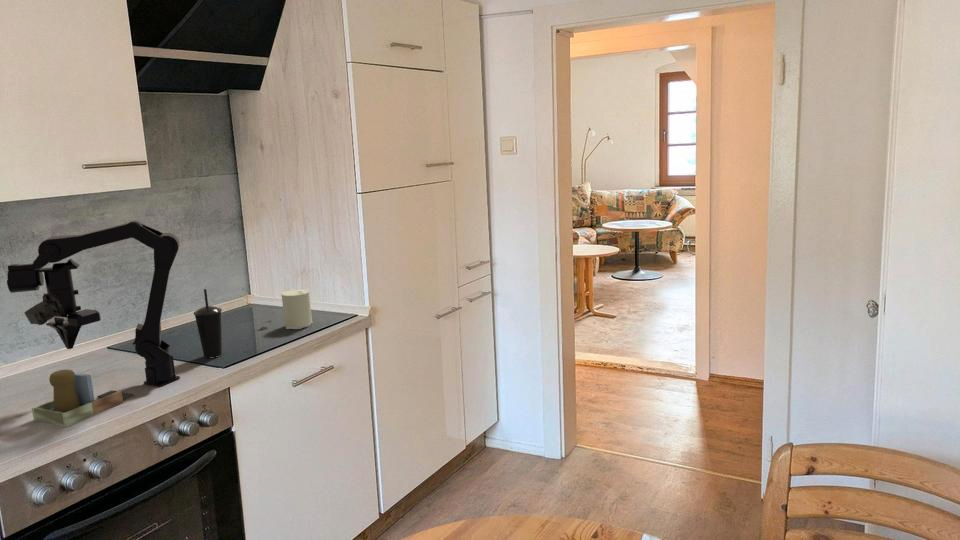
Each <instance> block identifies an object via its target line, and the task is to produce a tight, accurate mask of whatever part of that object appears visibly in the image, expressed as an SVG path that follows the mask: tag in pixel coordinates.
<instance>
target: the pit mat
mask: <svg viewBox="0 0 960 540" xmlns="http://www.w3.org/2000/svg"><path fill="white" fill-rule="evenodd" d="M115 392H117V390H109V391H107V392H104V393H102V394H98V395H97V398H98V397H99V398H98V399H100V398H103V397H105V396H108V395H110V394H113V393H115ZM133 395H134V396H135V394H134V393H129V392H124V391H122V398H123V401H125V400H126V398H127V399H129V398H131V396H132V397H134V396H133Z"/></svg>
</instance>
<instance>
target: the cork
mask: <svg viewBox="0 0 960 540" xmlns="http://www.w3.org/2000/svg"><path fill="white" fill-rule="evenodd" d="M75 373H76V372H75V371H73V370H72V369H69V368H68V369H67V368H66V369H59V370H56V371H54V372H52V373H51V374H50V376H49V384H50V385H51V386H52V388H53V400H54V411H58V412H63V413H65V412H68V411H70V410H73V409H75V408H78V407H80V406H81V403H80V400H79V397H78V394H77V391H76V388H75V385H74V381H75Z"/></svg>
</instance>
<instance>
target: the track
mask: <svg viewBox="0 0 960 540" xmlns="http://www.w3.org/2000/svg"><path fill="white" fill-rule="evenodd" d="M116 391H117V390H116ZM122 392H123V391H121V390H118V391H117V392H115V393H113V394H110V395H108V396H105V397H103V398H98V399H95V401H93V402H90V403H88V404H85V405H83V406H80V407H78V408H75V409H73V410H70V411H68V412H65V413H63V412H58V411H53V410H50V409H52V408H54V399H52V400H49V401H46V402H44V403H40V404H38V405H36V406H33V407H31V412H32V418H33V421H36V422H41V423H46V424H51V425H57V426H61V427H69V426H72V425H75V424H76V422H77V423H79V422H82V421H83V419H84V420H86V419H88V418H87V417H89V418H91V417H93V416H96V415H98V414H100V413H103V412H105V411H107V410H109V408H110V409H112V408H114V406H115V407H117V406H119V405H121V403H122V404H123V403H124V400H123V398H122ZM104 410H105V411H104ZM102 411H103V412H102ZM97 413H98V414H97ZM95 414H96V415H95ZM90 416H91V417H90ZM85 418H86V419H85Z"/></svg>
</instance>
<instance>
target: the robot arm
mask: <svg viewBox="0 0 960 540" xmlns="http://www.w3.org/2000/svg"><path fill="white" fill-rule="evenodd" d="M129 239H134V240H136V241H138V242H140V243H141V244H143V245H145V246H146V247H148V248H151V250H152V249H153V262H154V263H153V265H154V267H153V268H154V270H153V274H152V275H153V276H152V282H151V287H150V292H149V297H148V302H147V308H146V314H145V320H144V322H143V324H141V323H137V325H136V327H135V331H134V333H135V337H134V339H133V342H132V345H133V346H134V350H135V352H136V353H137V355H138V356H140V357H141V358H143V359H144V360H145V361H144V363H145V368H144V373H145V379H146V380H145V381H143V384H144V385H151V386H158V387H162V386H165V385H167V384H169V383H172V382H175V381H177V380H179V379H181V376H180V375H176V371H175V362H174V355H170V354H171V348H172V346H171V345H170V344H169V343H168V342H166V341H164V340H163V339H162V320H161V319H162V316H163V315H162V314H163V310H164V305H165V299H166V293H167V287H168V283H169V282H168V281H169V276H170V274H171V269H172V266H173V264H174V262H175V259H176V256H177V254H178V252H179V247H180V240H179V238H178V237H177V236H176V235H175V233H171V232H161V231H159V230H157V229H155V228H152V227H150V226H148V225H145V224H144V223H142V222H140V221H139V220H130V221H129V222H127V223H122V224H118V225H113V226H110V227H106V228H105V227H104V228H103V229H98V230H94V231H90V232H86V233H82V234H69V235H68V234H67V235H56V236H54V235H53V236H51V237H48V238H46V239H45V240H43V241H41V242H40V244H39V246H38V249H37V252H38V254H37V256H36V258H35V260H33V262H31V263H22V264H19V263H18V264H17V263H12V264H9V265H8V266H7V269H8V270H7V280H6V284H7V289H8V291H9V293H10V294H13V293H15V294H16V293H24V292H33V291H40V287H43V286H44V283H45V288H46V292H45V293H43V295H42V301H41V302H39V303H37V304H35V305H34V306H32V307H30V308H29V309H27V310H26V311H25V312H24V316H26V318H27V320H28V322H29V323H30V325H38V326H42V325H44V324H45V326H47V327H50V328H51V329H54V330H55V331H56V333H57V335H58V336H59V338H60V339H61V341H62V343H63V345H64V347H65V348H66V349H67V350H71V349H73V348H74V346H75V343H76V341H77V338H78V335H79V332H80V331H81V328H82V327H83V326H86V325H90V324H93V323H96V322H99V321H101V320H102V319H101V313H100V311H98V310H96V309H88V308H86V309H82V308H81V305H77V300H76V295H79V294H80V292H79V290H78V289H74V288H75V287H74V282H73V275H72V270H77V269H78V268H79V267H80V264H79V263H77V262H75V261H74V260H73V259H72V258H69V257H72V256H74V255H76V254H78V253H80V252H82V251H86V250H89V249H92V248H97V247H101V246H105V245H109V244H113V243H116V242H121V241H124V240H129ZM67 258H69V259H68V260H67V261H66V262H65V261H64V262H60V261H62V260H65V259H67ZM50 263H52V266H50V267H45V266H46V265H48V264H50ZM44 281H45V282H44Z"/></svg>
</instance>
